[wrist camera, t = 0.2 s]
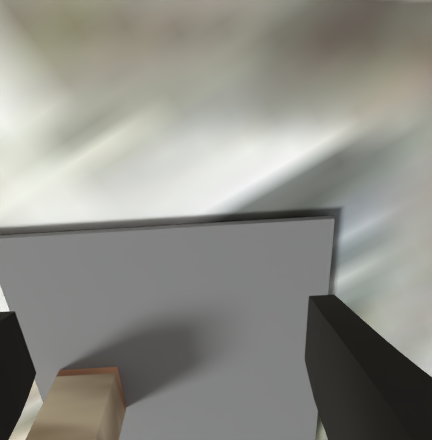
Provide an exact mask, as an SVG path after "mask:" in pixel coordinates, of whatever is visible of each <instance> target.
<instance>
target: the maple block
mask: <svg viewBox="0 0 432 440" xmlns="http://www.w3.org/2000/svg"><path fill="white" fill-rule="evenodd" d="M126 408H127V407H126V402H125V398H124V394H123V389H122V385H121V381H120V376H119V372H118V368H117V367H104V368H86V369H69V370H59V372H58V374H57V376H56V378H55V380H54V382H53V384H52V386H51V388H50V390H49V392H48V394H47V397H46V399H45V401H44V403H43V405H42V407H41V409H40V411H39V413H38V415H37V417H36V419H35V421H34V423H33V425H32V428H31V430H30V432H29V434H28V436H27V438H26V440H119V437H120V433H121V429H122V425H123V420H124V416H125V412H126Z"/></svg>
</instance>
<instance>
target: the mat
mask: <svg viewBox="0 0 432 440" xmlns="http://www.w3.org/2000/svg"><path fill="white" fill-rule="evenodd" d="M334 222H335V218H334V217H333V216H318V217H301V218H284V219H267V220H250V221H233V222H216V223H199V224H183V225H166V226H149V227H132V228H115V229H98V230H81V231H65V232H48V233H31V234H14V235H0V285H1V288H2V291H3V293H4V296H5V299H6V302H7V304H8V307H9V310H10V312H11V311H15V313H16V316H17V319H18V321H19V324H20V327H21V330H22V333H23V336H24V339H25V342H26V344H27V347H28V350H29V353H30V356H31V359H32V362H33V364H34V367H35V370H36V376H35V381H36V384H37V387H38V389H39V392H40V395H41V398H42V400H43V403H44V401H45V399H46V397H47V394H48V392H49V390H50V388H51V386H52V384H53V382H54V380H55V378H56V376H57V374H58V372H59V370H69V369H86V368H104V367H117V368H118V372H119V376H120V381H121V385H122V389H123V394H124V398H125V402H126V407H127V408H126V412H125V416H124V420H123V425H122V429H121V433H120V437H119V440H315V439H316V428H317V416H318V409H317V406H316V404H315V401H314V397H313V393H312V389H311V385H310V381H309V377H308V372H307V368H306V364H305V344H306V330H307V315H308V300H309V296H315V295H328V291H329V279H330V268H331V257H332V245H333V234H334Z"/></svg>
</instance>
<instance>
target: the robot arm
mask: <svg viewBox="0 0 432 440" xmlns="http://www.w3.org/2000/svg"><path fill="white" fill-rule="evenodd" d="M305 364H306V368H307V372H308V377H309V381H310V385H311V389H312V393H313V397H314V401H315V404H316V406H317V409H318V412H319V415H320V418H321V421H322V423H323V426H324V429H325V432H326V435H327V437H328V440H432V377H431V376H429V375H428V374H427V373H425V372H424V371H423V370H422V369H420V368H419V367H418V366H417V365H415V364H414V363H413V362H412V361H410V360H409V359H408V358H407V357H405V356H404V355H403V354H402V353H400V352H399V351H398V350H397V349H396V348H394V347H393V346H392V345H391V344H390V343H389V342H387V341H386V340H385V339H384V338H383V337H381V336H380V335H379V334H378V333H377V332H376V331H374V330H373V329H372V328H371V327H370V326H369V325H368V324H367V323H365V322H364V321H363V320H362V319H361V318H360V317H359V316H358V315H356V314H355V313H354V312H353V311H352V310H351V309H350V308H349V307H347V306H346V305H345V304H344V303H343V302H342V301H341V300H340V299H338V298H337V297H336V296H335V295H315V296H309V300H308V315H307V330H306V344H305ZM35 376H36V370H35V367H34V364H33V362H32V359H31V356H30V353H29V350H28V347H27V344H26V342H25V339H24V336H23V333H22V330H21V327H20V324H19V321H18V319H17V316H16V313H15V311H11V312H0V440H8V439H9V437H10V436H11V434H12V432H13V430H14V428H15V426H16V424H17V422H18V420H19V418H20V416H21V413H22V411H23V408H24V406H25V403H26V401H27V398H28V396H29V393H30V390H31V387H32V384H33V382H34V379H35Z"/></svg>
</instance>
